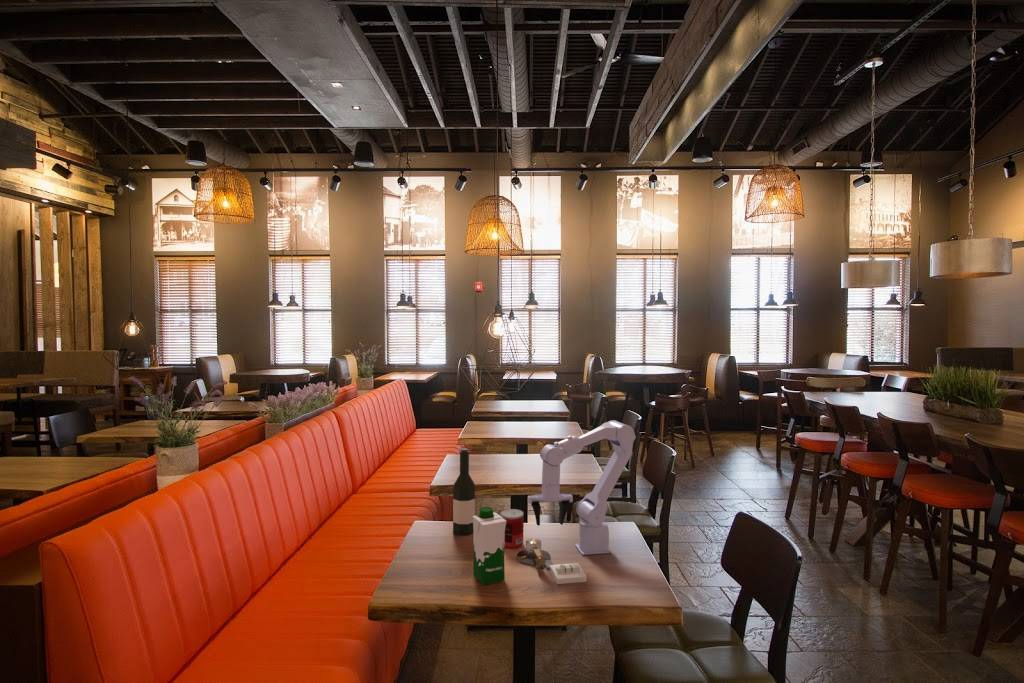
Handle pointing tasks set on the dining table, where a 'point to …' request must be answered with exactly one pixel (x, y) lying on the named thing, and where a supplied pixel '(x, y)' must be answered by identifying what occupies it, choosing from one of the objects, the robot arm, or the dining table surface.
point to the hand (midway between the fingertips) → (549, 524)
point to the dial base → (528, 561)
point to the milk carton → (488, 546)
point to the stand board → (567, 573)
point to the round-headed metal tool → (535, 552)
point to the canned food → (513, 528)
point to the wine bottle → (463, 498)
